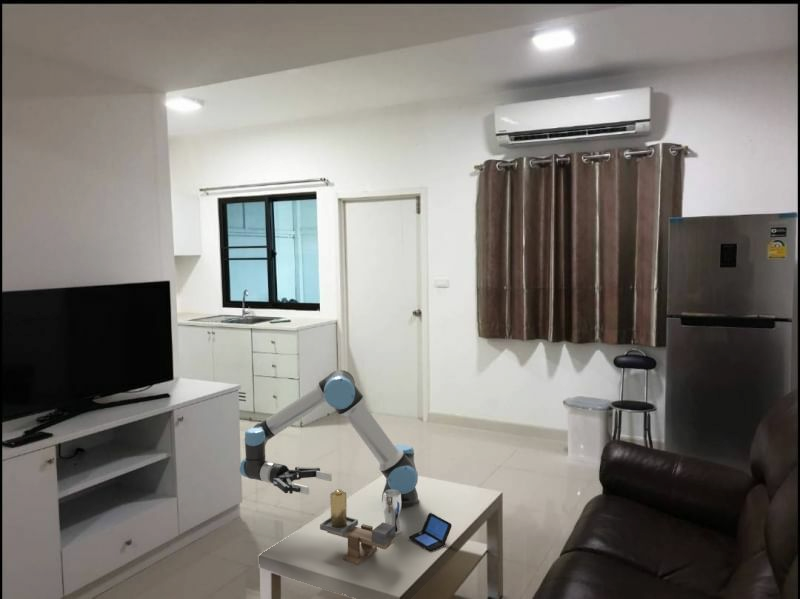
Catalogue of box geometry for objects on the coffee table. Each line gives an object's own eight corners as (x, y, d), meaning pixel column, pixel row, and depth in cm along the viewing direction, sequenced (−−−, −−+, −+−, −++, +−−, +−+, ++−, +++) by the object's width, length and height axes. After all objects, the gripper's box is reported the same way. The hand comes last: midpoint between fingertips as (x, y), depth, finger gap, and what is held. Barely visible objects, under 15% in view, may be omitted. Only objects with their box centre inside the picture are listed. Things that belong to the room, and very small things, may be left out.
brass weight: (337, 519, 217) (336, 486, 215) (349, 522, 214) (349, 489, 213) (327, 525, 212) (327, 492, 211) (340, 529, 209) (340, 495, 208)
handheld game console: (407, 539, 220) (407, 520, 219) (429, 530, 227) (429, 511, 226) (430, 553, 210) (430, 532, 210) (452, 543, 217) (452, 523, 216)
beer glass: (403, 528, 228) (403, 490, 227) (397, 536, 221) (397, 497, 220) (386, 525, 230) (386, 487, 229) (380, 533, 224) (380, 495, 222)
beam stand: (362, 544, 216) (362, 521, 215) (376, 548, 213) (376, 525, 212) (343, 559, 205) (343, 536, 205) (357, 564, 202) (357, 540, 202)
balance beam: (336, 522, 219) (336, 507, 219) (397, 539, 207) (397, 524, 206) (320, 533, 211) (319, 518, 211) (382, 551, 198) (382, 536, 198)
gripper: (296, 472, 241) (339, 481, 230) (252, 495, 219) (298, 507, 209) (295, 453, 240) (339, 462, 230) (251, 475, 218) (297, 486, 208)
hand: (320, 483), depth 219 cm, fingers open, 13 cm apart
